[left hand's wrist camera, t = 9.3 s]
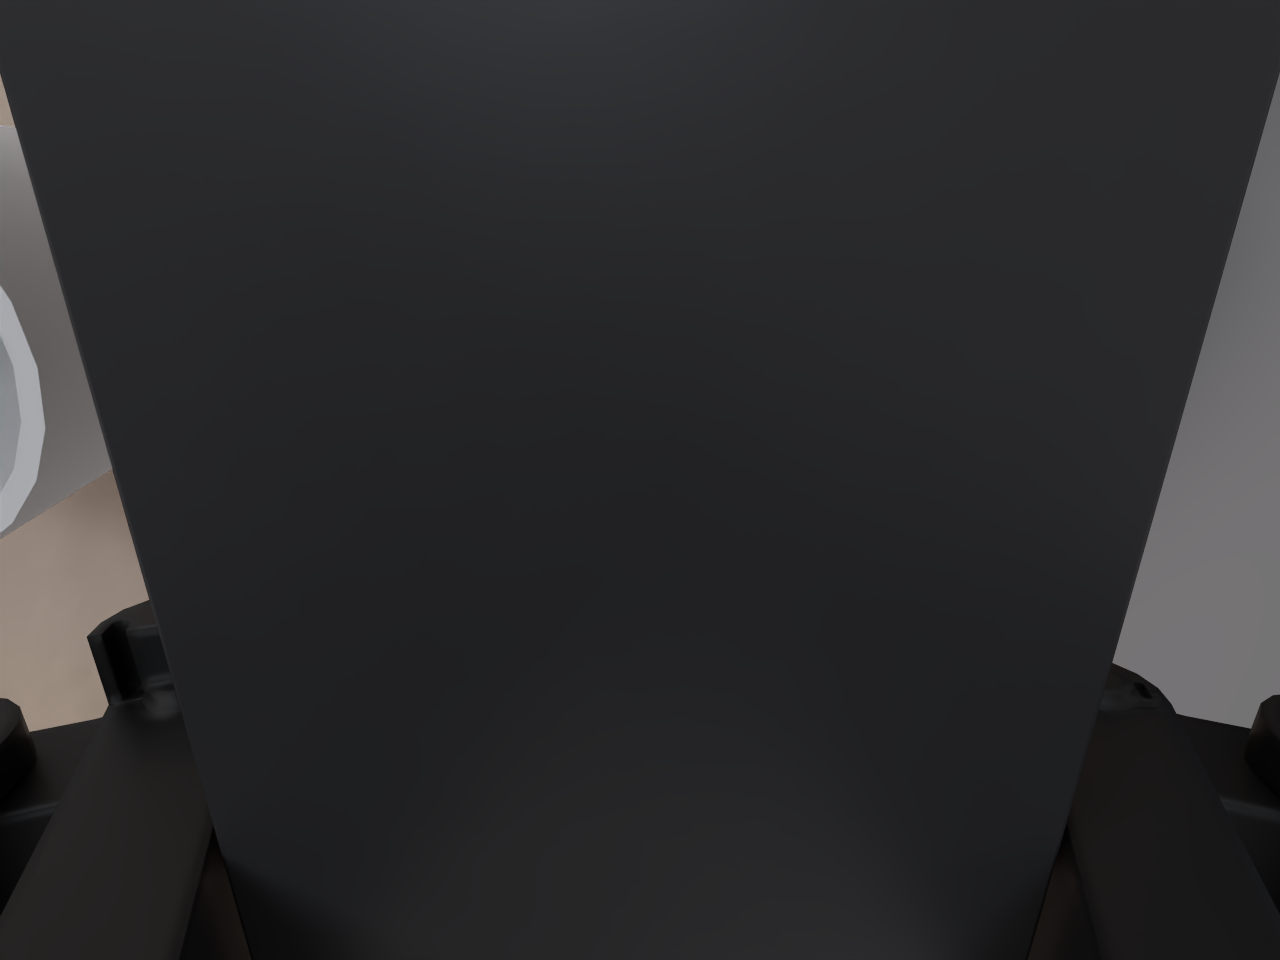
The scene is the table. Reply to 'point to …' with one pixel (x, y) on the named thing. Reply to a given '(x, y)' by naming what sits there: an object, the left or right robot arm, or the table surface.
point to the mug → (37, 364)
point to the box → (639, 439)
